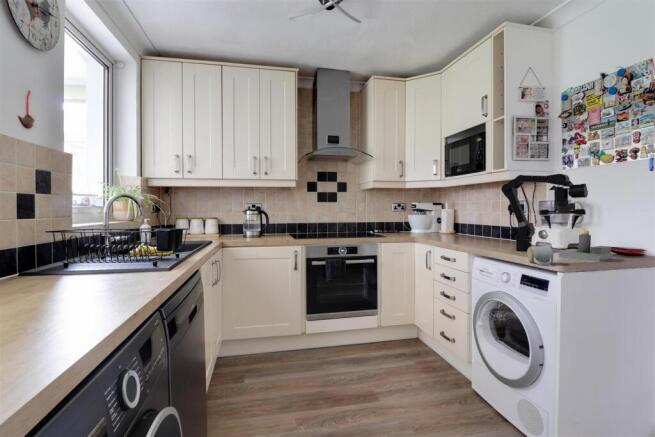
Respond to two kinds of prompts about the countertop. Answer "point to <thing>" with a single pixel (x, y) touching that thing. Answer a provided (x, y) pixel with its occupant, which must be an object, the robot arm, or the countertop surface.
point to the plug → (585, 242)
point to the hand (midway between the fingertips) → (561, 228)
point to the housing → (595, 254)
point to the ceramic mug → (540, 255)
